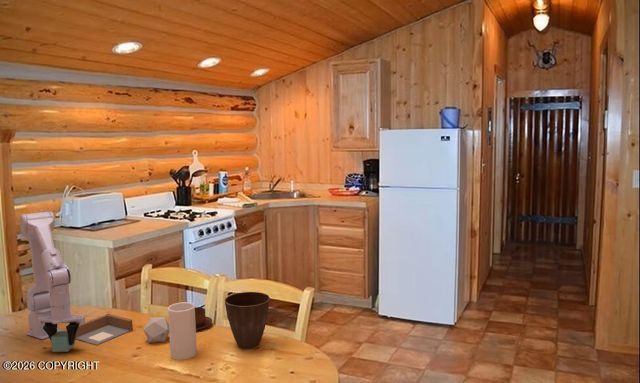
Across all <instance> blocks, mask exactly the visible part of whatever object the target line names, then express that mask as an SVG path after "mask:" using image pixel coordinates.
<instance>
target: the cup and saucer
mask: <svg viewBox="0 0 640 383" xmlns="http://www.w3.org/2000/svg"><path fill="white" fill-rule="evenodd" d="M212 323H213V319H212V318H211V317H210V316H206V308H204V307H199V306H198V307H197V306H195V324H196V331H201V330H204V329H206V328H208V327H209V326H211V325H212Z"/></svg>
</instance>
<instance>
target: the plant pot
mask: <svg viewBox="0 0 640 383" xmlns="http://www.w3.org/2000/svg"><path fill="white" fill-rule="evenodd" d="M270 299H271V297H270V296H269V294H267V293H264V292H259V291H258V292H257V291H244V292H237V293H232V294H230V295H228V296H227V297H225V298H224V305H225V311H226V316H227V319H228V323H229V327H230V331H231V333H232V335H233V338H234V341H235V343H236V346H237V347H238V348H239V349H243V350H251V349H255V348H257V347H259V345H260V344H261V341H262V338H263V335H264V332H265V329H266V324H267V321H268V315H269V308H270Z"/></svg>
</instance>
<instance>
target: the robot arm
mask: <svg viewBox="0 0 640 383" xmlns="http://www.w3.org/2000/svg"><path fill="white" fill-rule="evenodd" d="M19 217H20V218H19V227H20V233H21V237H22V238H26V239H27V241H28V244H29V251H30V258H31V264H32V265H31V266H32V267H31V268H32V275H33V281H34V283H33V284H32V285H31V286H30V287H29V288H28V289H27V291H26V306H27V310H28V311H29V313H28V315H27V320H28V321H27V322H28V330H29V332H27V333H26V335H28V336H30V337H33V338H37V339H40V340H46V339H48V338H49V340H50V342H51V337H52V336H53V335H54V334H56V333H57V332H58V331H64V330H63V329H59V328H58V325H60V324H67V325H66V326H65V329H66V331H67V332H68V337H69V345H72V344H74V341H75V340H76V339H75V336H76V332H77V329H78V327H79V325H80V324H83V323H85V322H86V316H85V315H76V314H72V312H71V311H72V310H71V298H70V286H69V284H71V282H72V278H71V276H72V275H71V271H70V268H69V267H68V266H67V264H66V263H65V262H64V260H63V257H62V255H61V252H60V249H58V248H55V247H56V246H55V243H54V238H53V233H52V232H53V231H54V227H55V226H56V219H55V214H54V213H53V212H52V211H51V210H49V211H42V212H41V211H40V212H34V213H33V212H32V213H22V214H21V215H20V216H19ZM51 344H52V342H51Z"/></svg>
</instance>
